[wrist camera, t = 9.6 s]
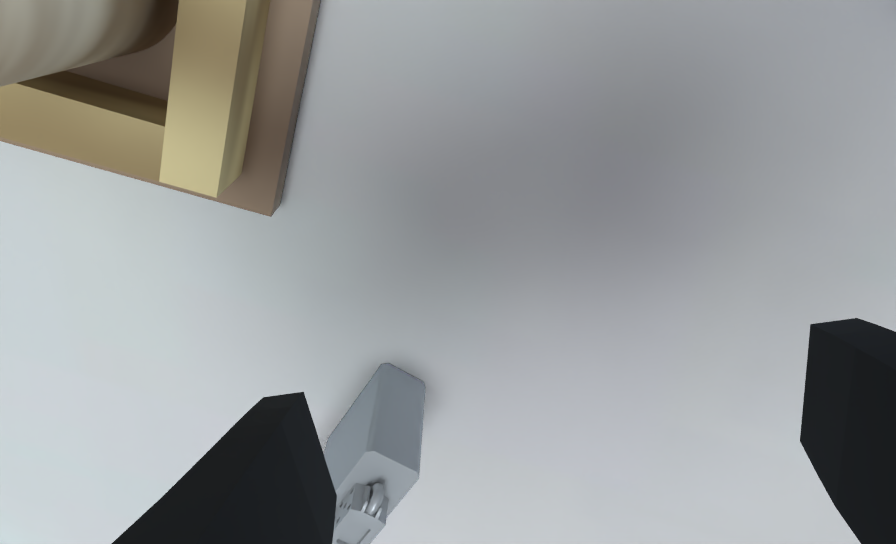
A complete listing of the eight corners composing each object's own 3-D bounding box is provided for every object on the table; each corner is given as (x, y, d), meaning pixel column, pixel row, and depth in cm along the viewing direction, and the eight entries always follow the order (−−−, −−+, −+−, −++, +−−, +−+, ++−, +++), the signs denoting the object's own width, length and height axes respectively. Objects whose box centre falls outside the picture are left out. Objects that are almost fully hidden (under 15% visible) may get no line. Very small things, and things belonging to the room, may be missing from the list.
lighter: (384, 360, 21) (348, 563, 14) (428, 384, 22) (415, 593, 14) (288, 493, 24) (216, 721, 17) (329, 512, 24) (276, 742, 17)
